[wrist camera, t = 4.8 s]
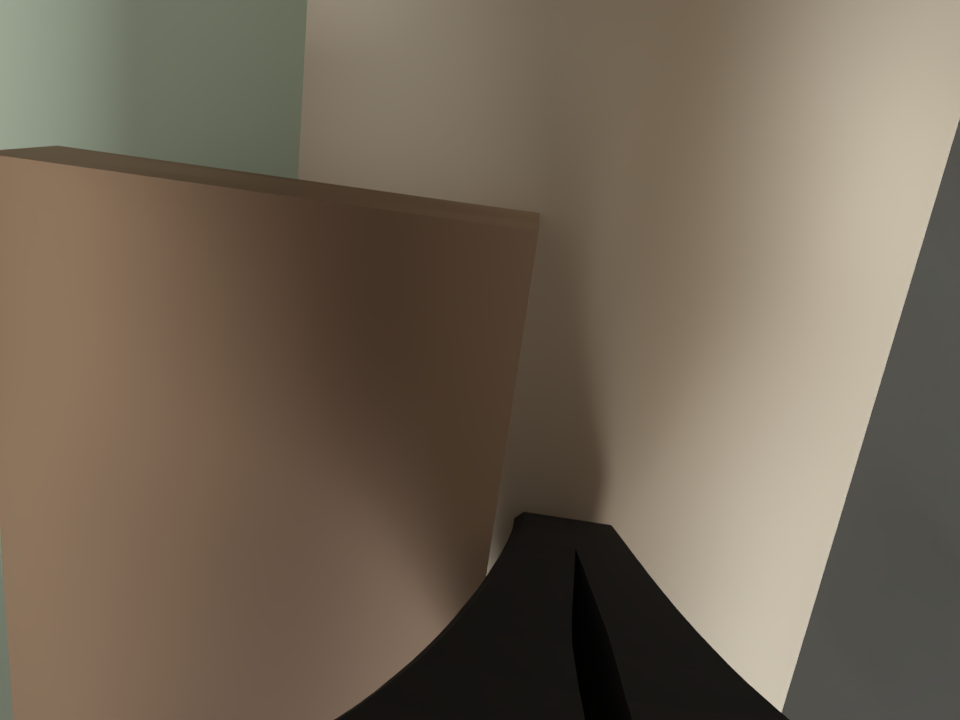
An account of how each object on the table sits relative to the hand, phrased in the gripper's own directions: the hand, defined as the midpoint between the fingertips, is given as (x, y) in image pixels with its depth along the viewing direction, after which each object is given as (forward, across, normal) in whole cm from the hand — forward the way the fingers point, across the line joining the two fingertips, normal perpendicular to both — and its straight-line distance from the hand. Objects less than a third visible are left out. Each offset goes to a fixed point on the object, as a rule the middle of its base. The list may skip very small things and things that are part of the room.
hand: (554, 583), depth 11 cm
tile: (0, +4, 0) cm, 4 cm away
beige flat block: (+3, 0, 0) cm, 3 cm away
